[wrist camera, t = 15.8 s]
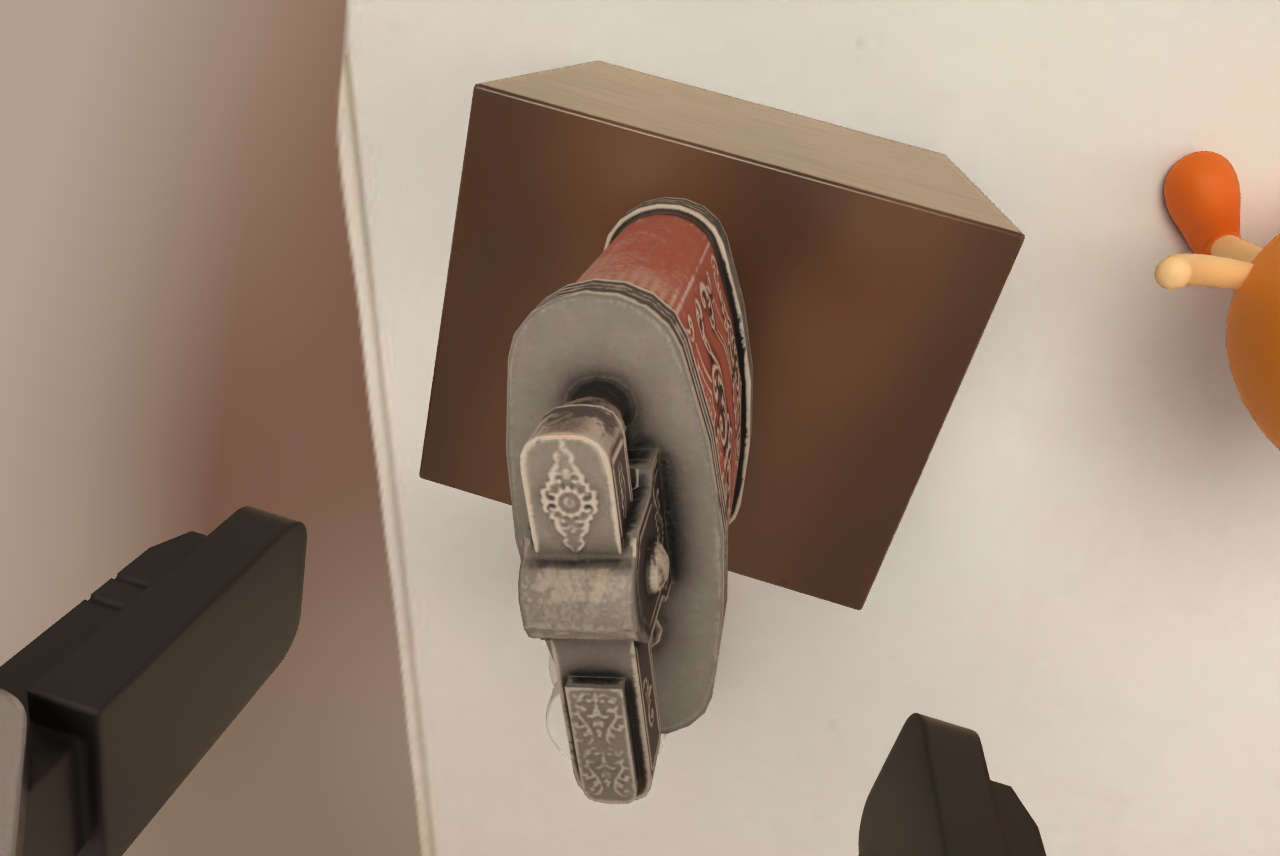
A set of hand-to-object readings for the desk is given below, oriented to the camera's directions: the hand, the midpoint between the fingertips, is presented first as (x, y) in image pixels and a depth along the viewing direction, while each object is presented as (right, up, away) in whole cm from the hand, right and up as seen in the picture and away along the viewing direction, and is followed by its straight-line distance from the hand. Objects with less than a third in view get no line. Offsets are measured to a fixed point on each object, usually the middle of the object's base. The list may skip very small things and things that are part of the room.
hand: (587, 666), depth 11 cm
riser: (+4, +9, +20) cm, 22 cm away
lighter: (+2, +4, +9) cm, 11 cm away
